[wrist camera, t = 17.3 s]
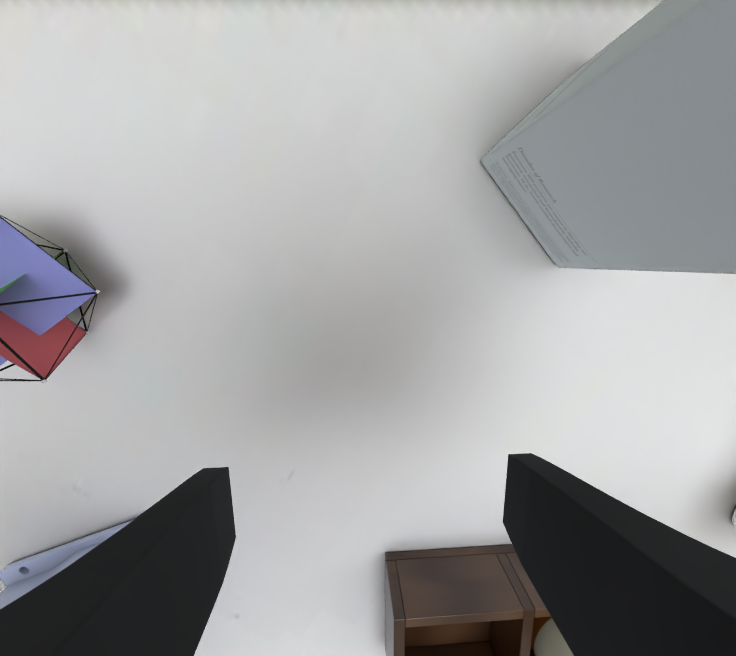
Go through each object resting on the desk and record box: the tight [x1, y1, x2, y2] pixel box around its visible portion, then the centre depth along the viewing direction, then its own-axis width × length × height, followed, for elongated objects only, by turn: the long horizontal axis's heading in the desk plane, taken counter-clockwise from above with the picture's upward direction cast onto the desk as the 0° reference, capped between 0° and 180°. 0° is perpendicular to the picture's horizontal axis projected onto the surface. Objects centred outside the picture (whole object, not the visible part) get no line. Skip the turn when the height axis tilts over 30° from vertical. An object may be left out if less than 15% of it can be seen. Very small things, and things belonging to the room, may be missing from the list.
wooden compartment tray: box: [385, 545, 551, 656], centre depth 21 cm, size 14×8×4 cm, turn 91°
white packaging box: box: [481, 0, 736, 274], centre depth 11 cm, size 7×7×13 cm
